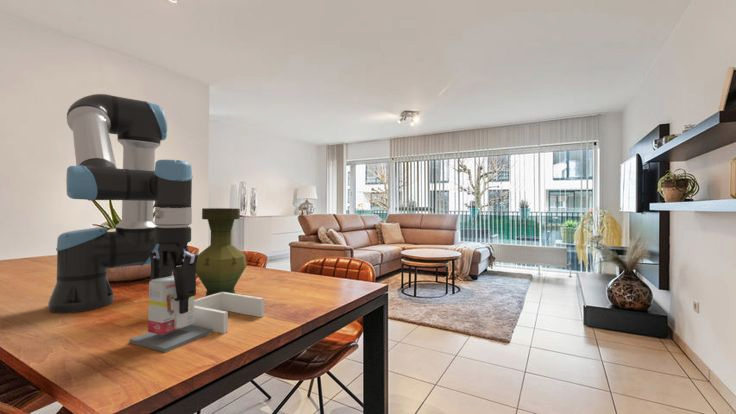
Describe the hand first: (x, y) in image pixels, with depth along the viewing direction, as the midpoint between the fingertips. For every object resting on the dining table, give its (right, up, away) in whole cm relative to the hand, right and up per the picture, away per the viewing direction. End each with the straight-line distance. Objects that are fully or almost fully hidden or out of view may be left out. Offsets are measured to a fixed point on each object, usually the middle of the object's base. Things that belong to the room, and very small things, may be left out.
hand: (172, 324), depth 79 cm
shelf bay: (+6, -3, +12) cm, 14 cm away
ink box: (0, -1, 0) cm, 1 cm away
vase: (-3, -3, +32) cm, 32 cm away
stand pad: (0, -3, 0) cm, 3 cm away
